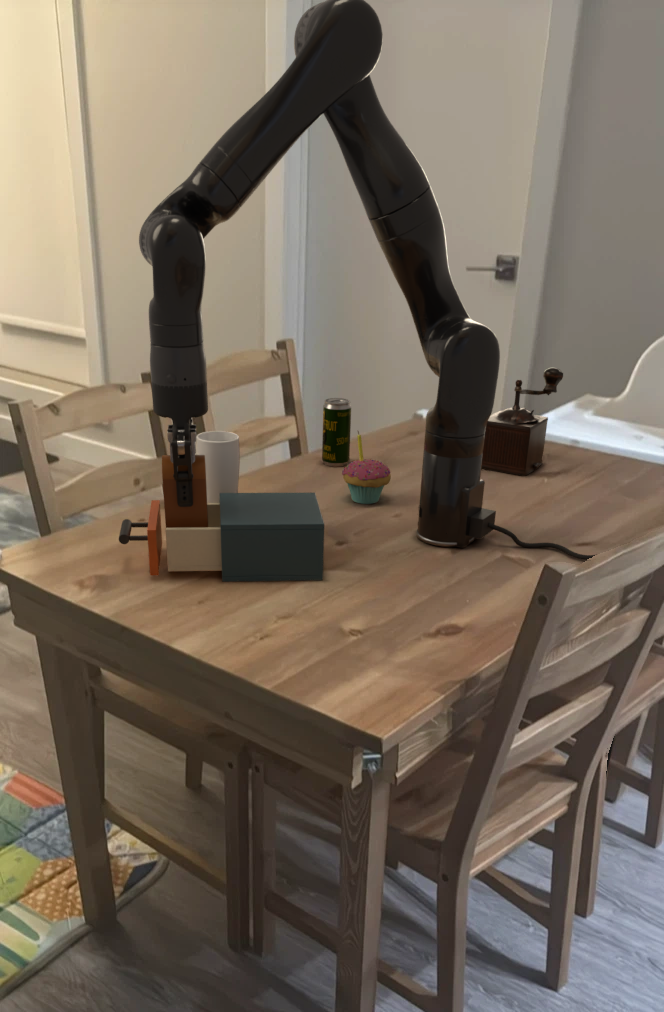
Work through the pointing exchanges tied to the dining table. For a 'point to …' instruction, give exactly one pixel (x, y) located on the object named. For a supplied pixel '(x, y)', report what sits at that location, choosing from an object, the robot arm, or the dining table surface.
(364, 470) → the cupcake
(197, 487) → the bread
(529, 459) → the manual coffee grinder
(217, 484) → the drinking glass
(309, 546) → the cabinet
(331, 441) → the green drink can
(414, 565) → the dining table surface
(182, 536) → the drawer
